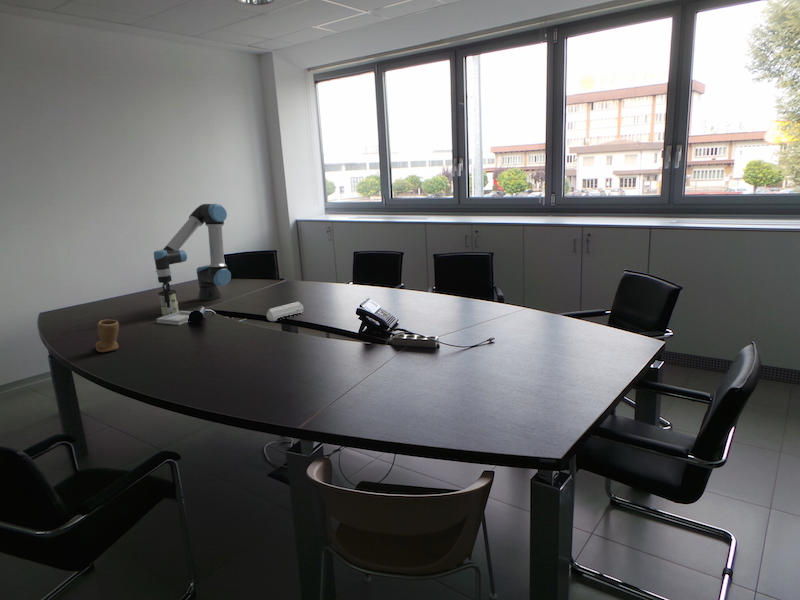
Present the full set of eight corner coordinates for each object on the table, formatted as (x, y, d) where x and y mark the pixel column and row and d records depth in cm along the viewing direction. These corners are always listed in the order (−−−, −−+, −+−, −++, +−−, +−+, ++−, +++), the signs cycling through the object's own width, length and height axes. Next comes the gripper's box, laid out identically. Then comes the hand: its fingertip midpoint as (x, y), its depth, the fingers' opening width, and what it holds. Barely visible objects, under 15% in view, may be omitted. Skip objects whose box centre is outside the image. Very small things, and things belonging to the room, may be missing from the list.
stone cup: (124, 350, 263) (118, 321, 259) (97, 355, 257) (90, 326, 253) (121, 342, 276) (116, 315, 272) (96, 347, 270) (90, 319, 266)
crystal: (272, 316, 294) (307, 307, 310) (265, 309, 297) (300, 300, 313) (269, 326, 298) (304, 316, 314) (263, 318, 301) (298, 309, 318)
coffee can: (167, 311, 334) (163, 290, 330) (182, 311, 333) (179, 289, 329) (158, 316, 324) (154, 294, 320) (174, 315, 323) (170, 293, 319)
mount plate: (181, 314, 326) (180, 310, 325) (202, 316, 318) (202, 312, 317) (157, 322, 310) (156, 318, 309) (179, 325, 302) (178, 320, 302)
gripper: (159, 273, 331) (165, 307, 337) (155, 279, 311) (162, 315, 316) (171, 271, 334) (177, 305, 339) (169, 277, 313) (175, 313, 318)
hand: (170, 310), depth 328 cm, fingers closed on coffee can, 10 cm apart
